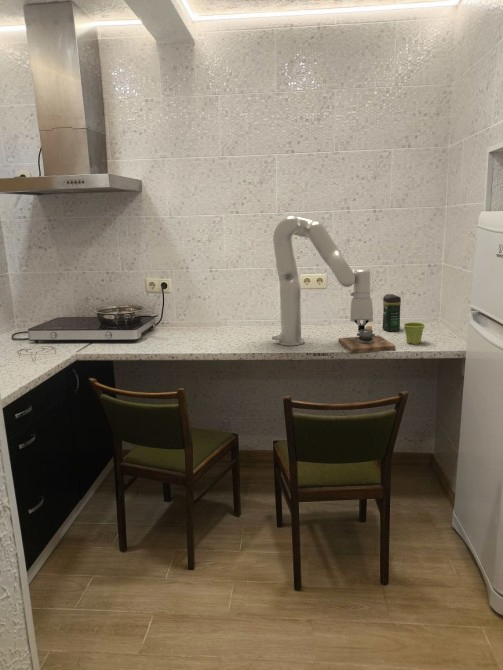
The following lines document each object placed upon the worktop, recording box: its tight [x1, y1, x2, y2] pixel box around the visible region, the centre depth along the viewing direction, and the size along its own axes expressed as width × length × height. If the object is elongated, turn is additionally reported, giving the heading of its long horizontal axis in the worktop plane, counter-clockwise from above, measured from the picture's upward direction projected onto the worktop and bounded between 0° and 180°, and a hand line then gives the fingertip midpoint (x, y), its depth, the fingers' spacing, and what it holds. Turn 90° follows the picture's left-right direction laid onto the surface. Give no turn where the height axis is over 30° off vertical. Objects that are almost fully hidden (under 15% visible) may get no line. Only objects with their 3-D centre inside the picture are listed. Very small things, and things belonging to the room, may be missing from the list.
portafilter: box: [356, 324, 376, 341], centre depth 225 cm, size 8×16×4 cm, turn 159°
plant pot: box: [403, 321, 426, 345], centre depth 223 cm, size 9×9×9 cm
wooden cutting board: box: [338, 334, 396, 354], centre depth 221 cm, size 20×20×3 cm
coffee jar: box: [382, 293, 402, 333], centre depth 248 cm, size 10×8×19 cm
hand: (361, 333), depth 230 cm, fingers closed
